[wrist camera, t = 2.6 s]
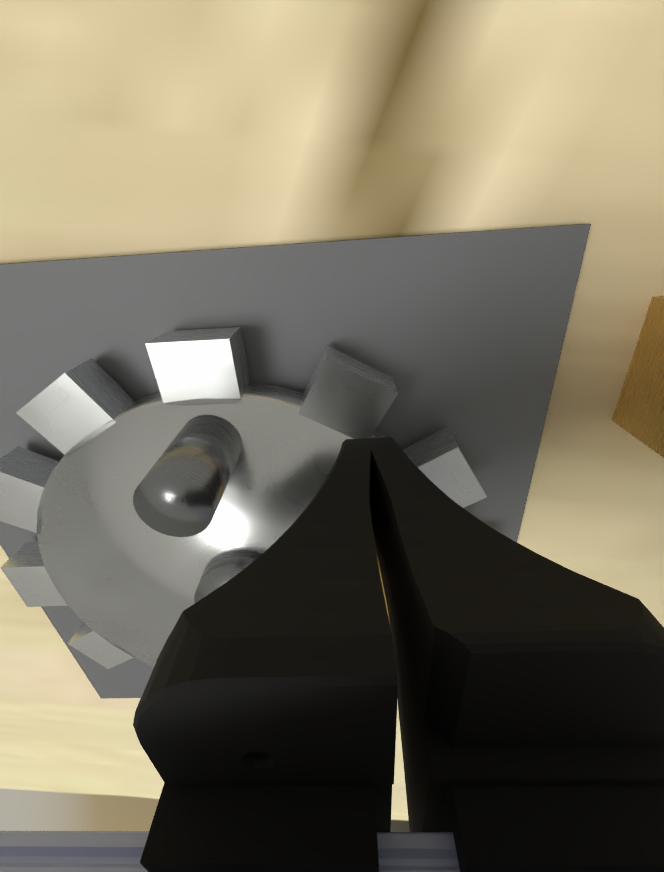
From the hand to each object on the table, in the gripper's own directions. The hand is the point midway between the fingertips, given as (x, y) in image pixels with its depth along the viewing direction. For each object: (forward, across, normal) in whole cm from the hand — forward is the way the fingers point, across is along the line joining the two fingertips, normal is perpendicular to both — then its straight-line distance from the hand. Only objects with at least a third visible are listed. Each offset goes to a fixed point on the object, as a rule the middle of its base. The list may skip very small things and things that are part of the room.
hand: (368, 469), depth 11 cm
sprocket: (+3, +5, +5) cm, 8 cm away
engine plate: (+3, +5, +5) cm, 8 cm away
